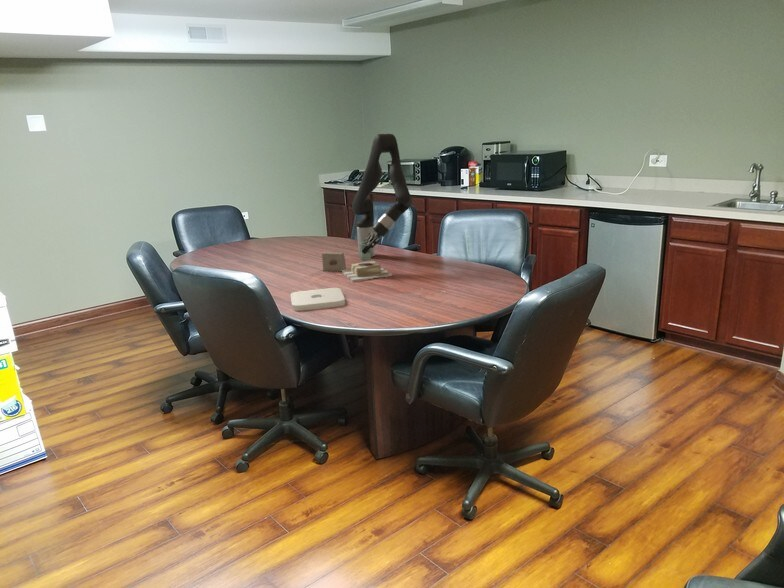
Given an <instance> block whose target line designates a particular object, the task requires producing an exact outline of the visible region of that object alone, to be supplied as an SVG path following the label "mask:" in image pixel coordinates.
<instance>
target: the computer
mask: <svg viewBox="0 0 784 588" xmlns="http://www.w3.org/2000/svg"><path fill="white" fill-rule="evenodd" d="M290 299H291V300H290V301H291V309H292V311H295V312H296V311H298V312H299V311H309V310H311V311H312V310H318V309H319V310H321V309H328V308H329V309H331V308H337V307H342V306H345V304H346V299H345V295H344V293H343V291H342V290H341V287H329V288H327V287H326V288H318V289H311V290H310V289H309V290H300V291H293V292H291V293H290Z"/></svg>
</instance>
